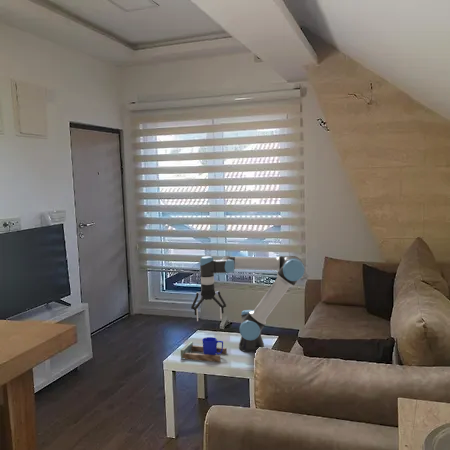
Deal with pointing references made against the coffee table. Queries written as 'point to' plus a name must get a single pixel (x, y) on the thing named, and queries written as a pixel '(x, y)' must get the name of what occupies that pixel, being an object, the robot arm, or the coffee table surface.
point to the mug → (211, 346)
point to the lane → (204, 357)
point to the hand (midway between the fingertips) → (209, 319)
